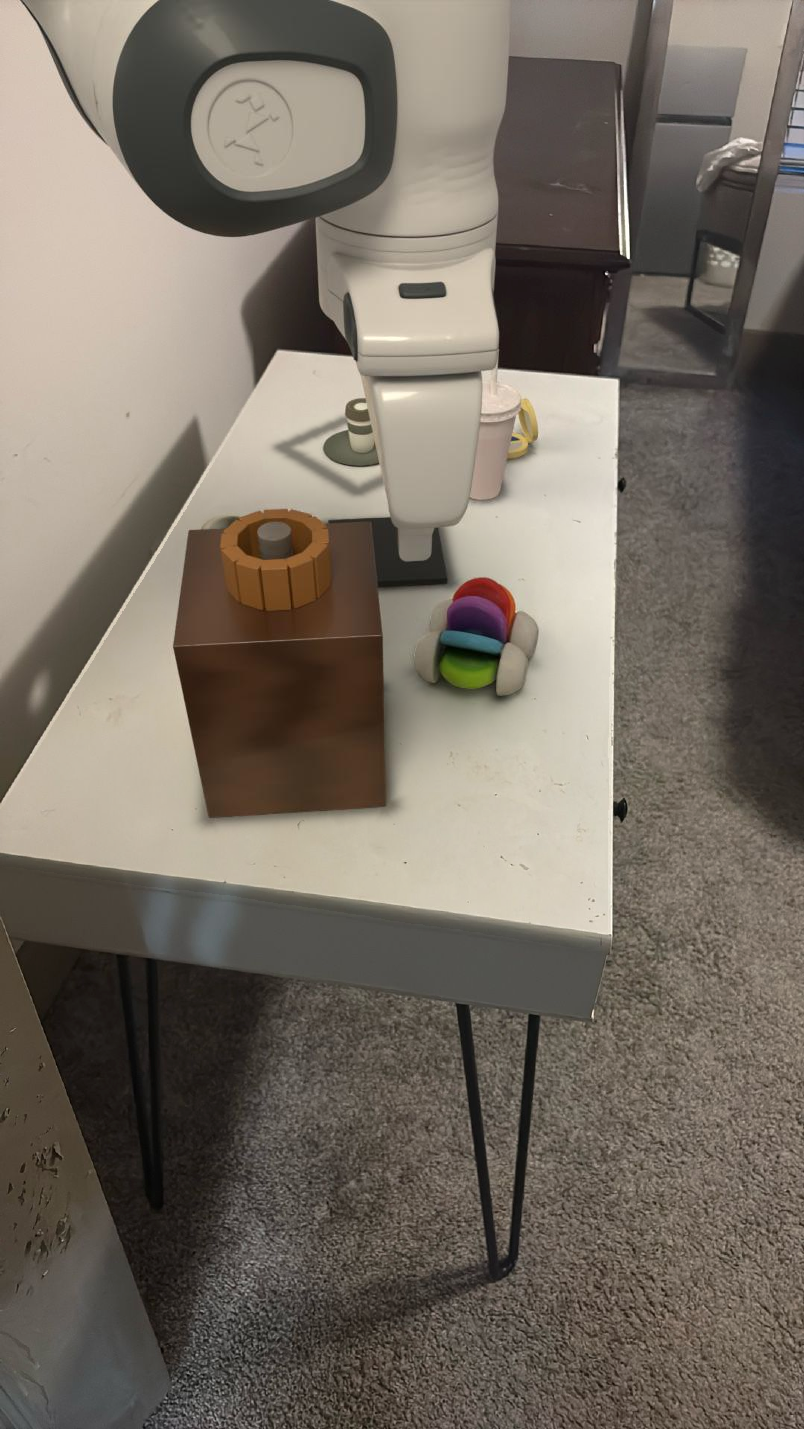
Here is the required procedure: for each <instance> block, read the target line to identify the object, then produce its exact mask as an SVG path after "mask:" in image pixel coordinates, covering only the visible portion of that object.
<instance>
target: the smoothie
mask: <svg viewBox="0 0 804 1429" xmlns="http://www.w3.org/2000/svg"><path fill="white" fill-rule="evenodd" d="M499 352H500V349H499V348H498V358H497V364H496V367H495V368H494V369H493V370H490V371H491V372H490V381H487V380H482V387H483V388H482V409H481V419H480V428H479V436H478V443H477V451H476V458H475V465H474V472H473V479H472V486H471V492H470V498H471V499H472V500H478V501H486V500H487V501H488V500H491V499H494V498H497V497H498V496H499V495H500V493H501V490H502V484H503V480H504V476H505V471H506V465H507V461H508V458H507V457H508V452H509V447H510V442H511V438H512V433H514V429H515V424H516V419H517V415H518V413H519V412H520V410H521V399H522V396H521V393H520V392H519V391H518V389H516V388H514V387H512V386H510V385H508V384H506V383H502V382H498V368H499ZM470 498H469V499H470Z"/></svg>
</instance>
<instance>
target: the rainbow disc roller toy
mask: <svg viewBox="0 0 804 1429" xmlns="http://www.w3.org/2000/svg"><path fill="white" fill-rule="evenodd" d="M516 609H517V606H516V601H515V598H514V597H513V594H512V593H511V592H510V590H508V588H506V587H505V586H503V585H502V584H500V583H498V582H497V581H496V580H494V579H492V578H490V577H485V576H483V577H482V576H481V577H480V576H479V577H474V578H471V579H469V580H467V581H465V582H464V583H462V584H461V585H460V586H459V587H458V588H457V589H456V590H455V592H454V593H453V596H452V598H447V599H445V600H442V601H440V602H439V603H438V604H437V605H435V607H434V608H433V609H432V612H431V614H430V618H429V623H428V624H429V625H428V626H429V627H428V628H429V632H428V633H426V634H425V635H423V636H422V637H421V638H420V639H419V640H418V641H417V644H416V646H415V649H414V655H413V664H414V668H415V670H416V672H417V673H418V675H420V677H421V678H422V679H424V680H425V681H427V682H429V683H431V684H435V683H437V682H438V680H439V679H440V676H442V677H443V679H445V680H446V681H447V682H448V683H450V684H451V685H453V686H455V687H457V688H461V689H468V690H469V689H470V690H471V689H472V690H474V689H480V688H483V687H486V686H489V685H490V684H492V683H494V682H495V680H496V683H495V692H496V695H497V696H508V695H511V694H514V693H516V692H517V691H518V690H520V689H521V688H522V686H523V685H524V683H525V682H526V681H525V680H526V677H527V674H528V673H527V672H528V666H529V665H528V664H529V663H528V658H530V657H531V656H532V655H533V654H534V653H535V651H536V649H537V646H538V645H537V644H538V640H539V632H540V629H539V626H538V623H537V622H536V620H535V619H534V618H533V617H532V615H530V614H528V613H527V612H525V611H523V610H519V611H517V612H516Z"/></svg>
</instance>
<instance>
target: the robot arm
mask: <svg viewBox="0 0 804 1429" xmlns="http://www.w3.org/2000/svg"><path fill="white" fill-rule="evenodd" d="M19 1H20V3H21V4H22V5H23V6H24V7H25V9H26V10H27V12H28V13H29V15H30V17H32V19H33V21H34V22H35V23H36V25H37V27H38V29H39V31H40V34H41V36H42V38H43V40H44V42H45V44H46V46H47V49H48V51H49V53H50V55H51V58H52V61H53V63H54V65H55V68H56V70H57V72H58V75H59V77H60V80H61V82H62V84H63V86H64V88H65V90H66V92H67V94H68V96H69V98H70V100H71V102H72V103H73V105H74V107H75V109H76V111H77V112H78V114H79V115H80V116H81V118H82V120H83V121H84V122H85V123H86V124H87V126H88V127H89V128H90V130H91V131H93V133H94V134H95V135H96V136H97V137H98V138H99V139H100V140H101V141H102V143H104V144H105V145H107V146H108V147H109V149H110V150H111V152H112V153H113V155H115V157H116V158H117V160H118V161H119V162H120V164H121V165H122V167H123V168H124V169H125V171H126V172H127V173H128V175H129V176H130V177H131V179H132V180H133V181H134V183H135V184H136V186H138V187H139V189H140V190H141V191H142V192H143V193H144V194H145V196H147V197H148V199H149V200H150V201H151V202H152V203H153V204H154V205H155V206H156V207H157V208H158V209H159V210H161V211H162V212H163V213H164V214H165V215H167V216H168V217H169V218H171V219H172V220H174V221H175V222H178V223H179V224H181V225H183V226H185V227H186V228H189V229H191V230H193V231H196V232H199V233H202V234H204V235H205V234H206V235H210V236H215V237H222V238H242V237H249V236H255V235H260V234H263V233H268V232H271V231H274V230H278V229H283V228H287V227H289V226H292V225H296V224H300V223H302V222H306V221H308V220H309V221H310V220H313V219H315V239H316V258H317V259H316V260H317V282H318V283H317V284H318V302H319V306H320V309H321V311H322V312H323V313H324V315H325V316H326V317H327V318H328V319H330V320H331V321H333V322H334V324H335V326H336V328H337V329H338V331H339V332H340V333H341V335H342V337H343V338H344V339H345V341H346V343H347V345H348V347H349V349H350V352H351V355H352V358H353V360H354V361H355V363H356V364H355V365H356V368H357V371H358V373H359V374H360V379H361V383H362V388H363V392H364V398H366V403H367V407H368V412H369V417H370V421H371V426H372V431H373V435H374V440H375V445H376V449H377V454H378V459H379V463H380V464H379V467H380V474H381V477H382V482H383V487H384V491H385V495H386V500H387V506H388V513H389V517H391V520H392V523H393V524H394V526H395V527H397V546H398V551H399V556H400V558H401V560H403V561H406V562H407V561H424V560H427V559H428V558H429V557H430V555H431V550H432V534H433V531H434V528H437V527H438V528H448V527H453V526H454V527H455V526H456V525H458V524H459V523H461V521H462V520H463V518H464V516H465V513H466V512H467V509H468V505H469V504H470V492H471V486H472V479H473V472H474V465H475V458H476V451H477V443H478V436H479V428H480V419H481V409H482V388H483V387H482V381H483V375H482V374H483V373H482V372H486V371H491V370H493V369H494V368H495V367H496V364H497V358H498V359H499V356H498V349H499V347H500V346H499V344H500V330H499V320H498V314H497V308H496V302H495V293H494V291H495V280H496V279H495V278H496V265H497V264H496V262H497V261H496V260H497V259H496V246H497V245H496V244H497V233H498V222H499V221H498V220H499V205H500V204H499V191H498V190H499V189H498V186H497V181H496V176H495V175H496V174H495V164H494V156H495V154H494V153H495V147H496V140H497V137H498V132H499V129H500V127H501V123H502V120H503V118H504V114H505V110H506V107H507V106H506V104H507V93H508V90H507V89H508V75H509V60H510V36H511V34H510V33H511V0H19Z"/></svg>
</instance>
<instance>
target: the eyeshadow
mask: <svg viewBox="0 0 804 1429" xmlns="http://www.w3.org/2000/svg"><path fill="white" fill-rule="evenodd" d="M517 415H518V419H519V425H520V427H521V431H522V433H523V434H520V433H517V432H513V433H512V438H511V442H510V447H509V452H508V457H507V459H517V458H519V457H522V456H524V455H526V453H527V452H528V450H529V448H528V447H529V443H533V442H535V441H537V440H538V438H539V425H538V420H537V416H536V413H535V409H534V407H533V405H532V402H531V400H530V399H529V398H526V397H525V398H521V410H520V412H519V413H518V414H517Z"/></svg>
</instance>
